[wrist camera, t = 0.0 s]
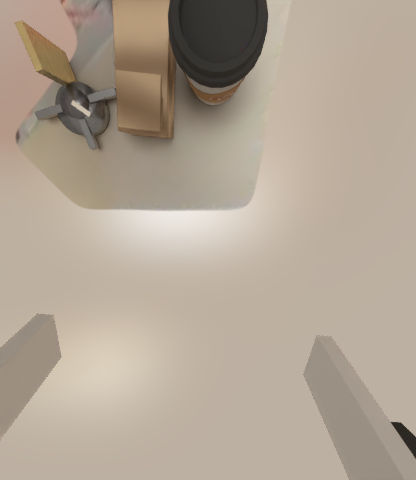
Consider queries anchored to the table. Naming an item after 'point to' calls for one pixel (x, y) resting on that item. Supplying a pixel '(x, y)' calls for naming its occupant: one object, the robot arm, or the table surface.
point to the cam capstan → (67, 89)
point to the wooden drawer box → (144, 68)
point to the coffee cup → (217, 43)
